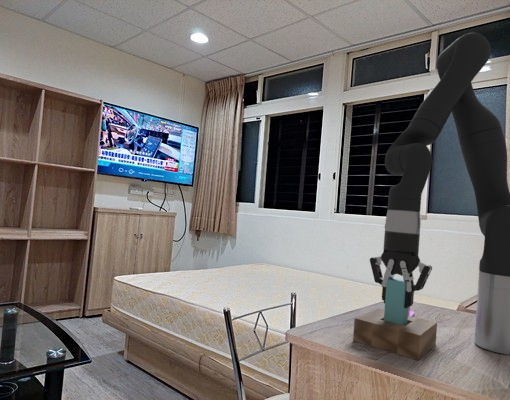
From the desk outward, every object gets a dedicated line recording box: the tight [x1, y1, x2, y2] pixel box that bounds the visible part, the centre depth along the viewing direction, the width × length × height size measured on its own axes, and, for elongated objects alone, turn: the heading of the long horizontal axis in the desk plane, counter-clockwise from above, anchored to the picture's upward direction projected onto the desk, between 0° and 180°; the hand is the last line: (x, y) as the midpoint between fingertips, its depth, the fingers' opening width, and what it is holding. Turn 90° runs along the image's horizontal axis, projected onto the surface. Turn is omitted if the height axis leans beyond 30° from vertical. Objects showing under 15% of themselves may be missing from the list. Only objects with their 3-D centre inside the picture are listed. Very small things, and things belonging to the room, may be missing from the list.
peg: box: [384, 277, 408, 326], centre depth 85 cm, size 4×4×12 cm
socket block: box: [352, 308, 438, 361], centre depth 84 cm, size 14×14×5 cm
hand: (396, 305), depth 85 cm, fingers closed on peg, 4 cm apart
